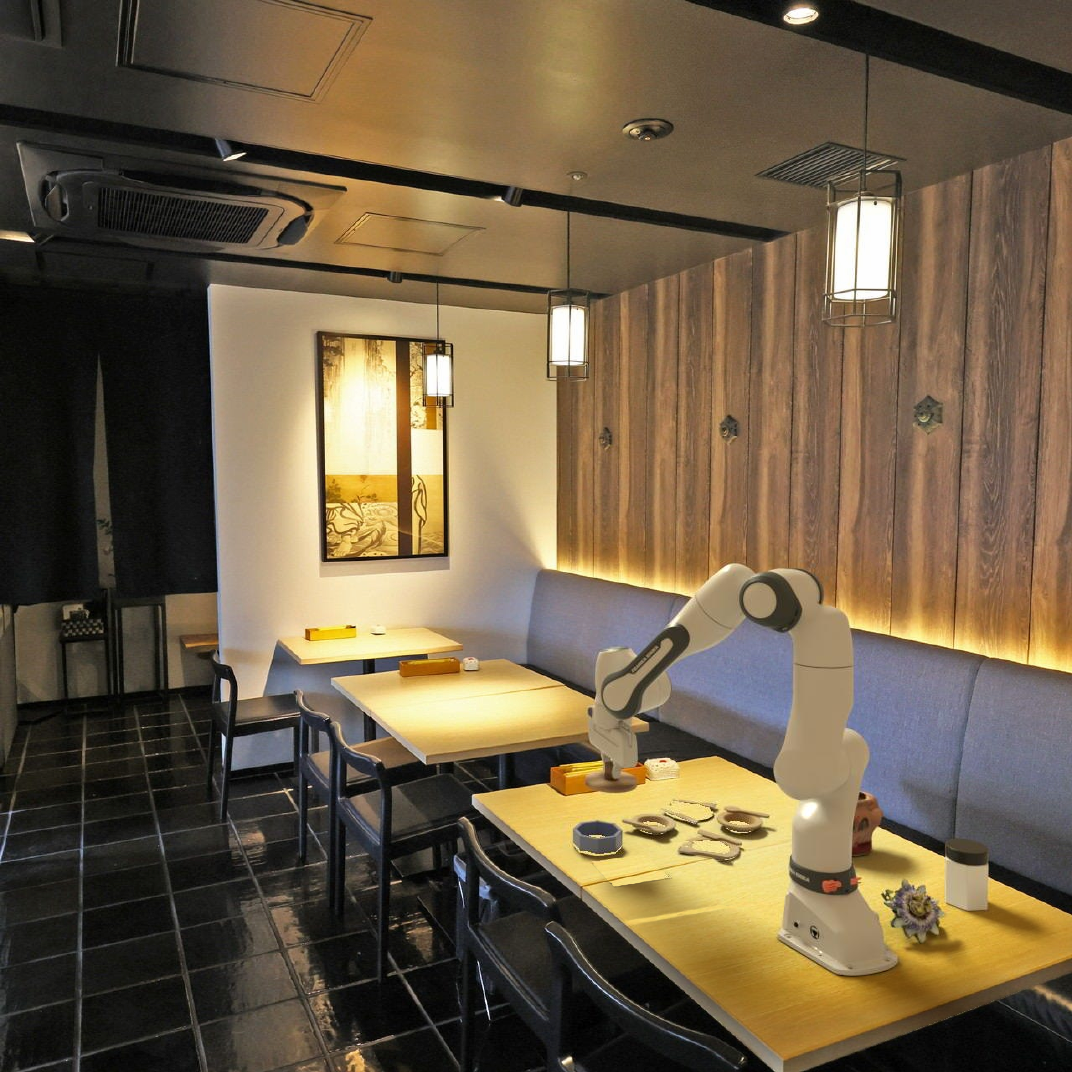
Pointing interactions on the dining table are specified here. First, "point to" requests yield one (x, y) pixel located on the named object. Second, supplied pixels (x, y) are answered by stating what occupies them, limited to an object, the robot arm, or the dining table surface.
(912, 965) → the dining table surface
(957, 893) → the jar
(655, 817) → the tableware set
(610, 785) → the lid
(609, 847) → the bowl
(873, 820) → the decorative planter
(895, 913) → the passion flower
